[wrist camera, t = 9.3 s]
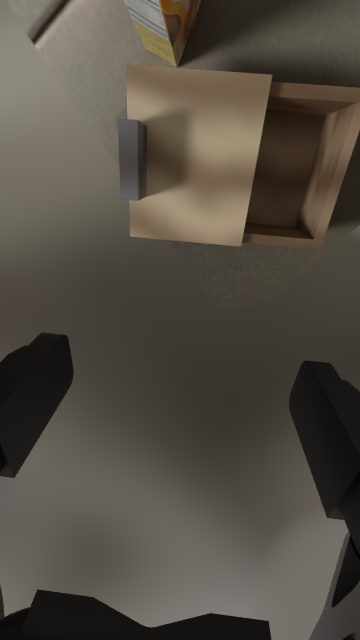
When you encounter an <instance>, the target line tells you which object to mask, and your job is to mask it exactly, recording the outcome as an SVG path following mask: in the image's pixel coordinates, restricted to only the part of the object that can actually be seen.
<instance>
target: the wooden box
mask: <svg viewBox="0 0 360 640" xmlns="http://www.w3.org/2000/svg"><path fill="white" fill-rule="evenodd" d="M359 131H360V88H356V87H341V86H327V85H313V84H298V83H284V82H271V85H270V91H269V96H268V102H267V107H266V113H265V118H264V124H263V129H262V135H261V140H260V146H259V151H258V157H257V162H256V167H255V173H254V178H253V184H252V189H251V195H250V200H249V206H248V211H247V217H246V222H245V228H244V233H243V239H242V242H243V243H254V244H265V245H277V246H288V247H299V248H310V249H321V246H322V243H323V239H324V236H325V233H326V230H327V227H328V224H329V221H330V218H331V215H332V212H333V209H334V206H335V203H336V200H337V197H338V194H339V191H340V188H341V185H342V182H343V179H344V176H345V173H346V170H347V167H348V164H349V161H350V158H351V155H352V152H353V149H354V146H355V143H356V140H357V137H358V134H359Z"/></svg>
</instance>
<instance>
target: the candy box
mask: <svg viewBox="0 0 360 640" xmlns="http://www.w3.org/2000/svg"><path fill="white" fill-rule="evenodd" d="M123 1H124V3H125V5H126V7H127V9H128V11H129V13H130V15H131V17H132V20H133V22H134V24H135V26H136V28H137V30H138V32H139V34H140V37H141V39H142V41H143V43H144V45H145V47H146V49H148V50H149V51H151V52H153V53H154V54H156V55H158V56H159V57H161V58H162V59H164V60H166V61H167V62H169V63H171V64H172V65H174V66H176V67H178V65H179V63H180V60H181V57H182V54H183V51H184V49H185V46H186V43H187V41H188V38H189V35H190V32H191V30H192V27H193V24H194V21H195V18H196V15H197V13H198V10H199V7H200V4H201V1H202V0H123Z"/></svg>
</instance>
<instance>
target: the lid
mask: <svg viewBox="0 0 360 640" xmlns="http://www.w3.org/2000/svg"><path fill="white" fill-rule="evenodd" d="M126 66H127V113H128V119H121V118H118V134H119V162H120V190H121V200H129V204H130V205H129V206H130V236H132V237H142V238H153V239H164V240H175V241H186V242H197V243H208V244H219V245H230V246H241V244H242V239H243V233H244V228H245V222H246V217H247V211H248V206H249V200H250V195H251V189H252V184H253V178H254V173H255V167H256V162H257V157H258V151H259V146H260V140H261V135H262V129H263V124H264V118H265V113H266V107H267V102H268V96H269V91H270V85H271V80H272V75H269V74H255V73H240V72H226V71H211V70H197V69H182V68H168V67H153V66H139V65H126Z"/></svg>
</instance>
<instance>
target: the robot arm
mask: <svg viewBox="0 0 360 640" xmlns="http://www.w3.org/2000/svg"><path fill="white" fill-rule="evenodd" d="M73 372H74V371H73V364H72V357H71V351H70V345H69V340H68V337H67V336H66V335H62V334H52V333H41V334H40V335H38V336H37V337H36V339H34V341H32V342H31V344H29V345H28V346H23V347H21V348H19V349H17V350H15V351H13V352H12V353H10V354H8V355H7V356H6V357H5V358H4V359H3V360H2V361H1V362H0V476H3V477H11V478H14V477H15V476H16V474H17V473H18V471H19V470H20V468H21V466H22V465H23V463H24V461H25V460H26V458H27V456H28V455H29V453H30V451H31V450H32V448H33V447H34V445H35V443H36V442H37V440H38V439H39V437H40V435H41V434H42V432H43V430H44V429H45V427H46V425H47V424H48V422H49V420H50V419H51V417H52V415H53V414H54V412H55V411H56V409H57V407H58V406H59V404H60V403H61V401H62V399H63V398H64V396H65V394H66V393H67V391H68V389H69V388H70V386H71V383H72V380H73ZM289 409H290V413H291V416H292V419H293V422H294V424H295V427H296V430H297V433H298V436H299V439H300V442H301V444H302V447H303V450H304V453H305V456H306V459H307V462H308V465H309V467H310V470H311V473H312V476H313V479H314V482H315V484H316V487H317V490H318V493H319V496H320V499H321V502H322V505H323V507H324V510H325V513H326V516H327V518H333V519H340V520H345V523H346V525H347V528H348V530H349V531H348V532H347V534H346V535H345V538H344V541H343V545H342V548H341V551H340V555H339V558H338V562H337V565H336V569H335V572H334V575H333V579H332V582H331V586H330V589H329V592H328V596H327V599H326V603H325V606H324V609H323V611H322V614H321V616H320V618H319V620H318V622H317V624H316V626H315V628H314V630H313V632H312V634H311V636H310V639H309V640H360V392H359V391H358V390H357V389H356V388H355V387H354V386H352V385H351V384H350V383H349V382H348V381H346V380H341V378H340V377H339V375H338V373H337V372H336V370H335V369H334V367H333V366H332V365H331V364H330V363H326V362H316V361H304V362H303V363H302V364H301V366H300V369H299V372H298V374H297V377H296V380H295V382H294V385H293V388H292V391H291V393H290V398H289ZM0 640H271V634H270V627H269V621H264V620H257V619H249V618H241V617H234V616H227V615H220V614H212V613H210V614H206V615H202V616H198V617H194V618H190V619H185V620H181V621H177V622H173V623H169V624H165V625H161V626H158V627H152V628H150V627H145V626H143V625H141V624H139V623H137V622H136V621H134V620H132V619H130V618H129V617H127V616H125V615H123V614H122V613H120V612H118V611H116V610H115V609H113V608H111V607H109V606H108V605H106V604H104V603H102V602H101V601H99V600H97V599H95V598H94V597H88V596H81V595H73V594H66V593H59V592H51V591H44V590H37V592H36V594H35V597H34V600H33V602H32V604H31V607H29V608H25V609H22V610H20V611H17V612H15V613H12V614H9V615H8V616H6V617H4V604H3V596H2V591H1V586H0Z"/></svg>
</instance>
